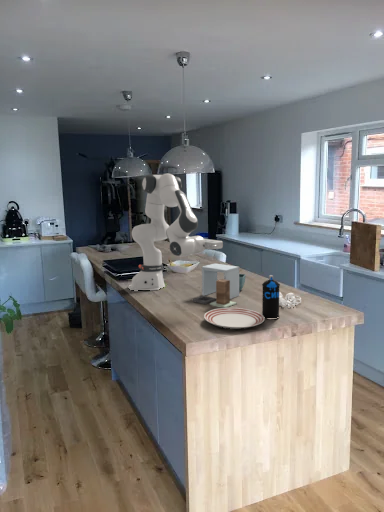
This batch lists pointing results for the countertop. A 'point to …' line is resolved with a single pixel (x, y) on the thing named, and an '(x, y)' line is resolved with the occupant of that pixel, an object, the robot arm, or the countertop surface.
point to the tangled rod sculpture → (288, 296)
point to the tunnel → (211, 277)
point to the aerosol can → (270, 298)
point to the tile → (223, 305)
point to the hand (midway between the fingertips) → (214, 241)
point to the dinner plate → (234, 318)
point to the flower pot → (241, 281)
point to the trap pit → (204, 299)
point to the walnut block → (223, 291)
